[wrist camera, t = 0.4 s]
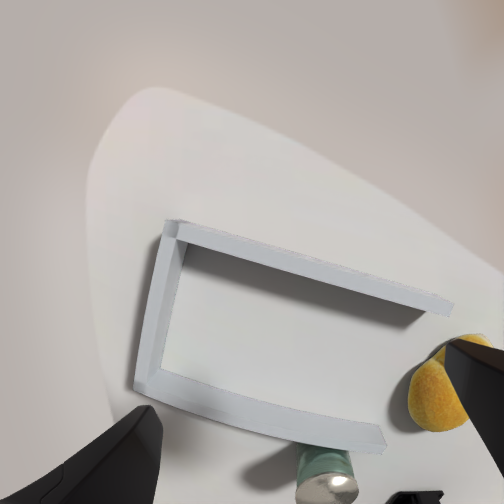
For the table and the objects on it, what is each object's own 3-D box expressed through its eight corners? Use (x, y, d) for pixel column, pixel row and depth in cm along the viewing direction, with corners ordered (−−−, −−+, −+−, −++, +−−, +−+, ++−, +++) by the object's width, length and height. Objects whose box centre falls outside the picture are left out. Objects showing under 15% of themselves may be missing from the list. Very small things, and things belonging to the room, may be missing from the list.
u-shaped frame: (374, 433, 23) (381, 454, 20) (147, 373, 25) (132, 390, 22) (436, 294, 22) (454, 303, 19) (180, 219, 23) (165, 219, 20)
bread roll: (387, 386, 23) (402, 411, 19) (468, 314, 22) (493, 328, 18) (428, 436, 23) (442, 461, 19) (499, 373, 22) (521, 390, 18)
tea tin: (335, 468, 24) (342, 515, 18) (287, 460, 24) (286, 509, 18) (355, 432, 23) (369, 480, 17) (305, 423, 24) (309, 473, 18)
